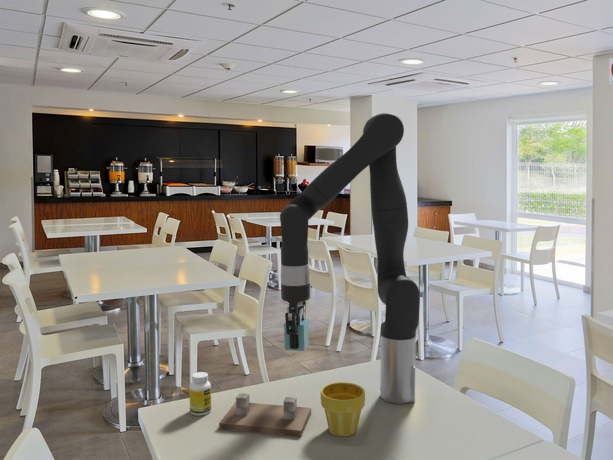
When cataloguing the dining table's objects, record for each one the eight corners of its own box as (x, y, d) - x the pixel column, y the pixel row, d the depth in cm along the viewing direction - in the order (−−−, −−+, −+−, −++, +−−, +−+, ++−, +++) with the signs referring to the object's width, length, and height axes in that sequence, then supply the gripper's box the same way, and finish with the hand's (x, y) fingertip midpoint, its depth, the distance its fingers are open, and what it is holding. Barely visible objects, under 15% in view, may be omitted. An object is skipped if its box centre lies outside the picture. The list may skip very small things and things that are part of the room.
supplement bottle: (206, 417, 135) (205, 379, 134) (186, 415, 136) (185, 378, 135) (214, 407, 140) (213, 371, 139) (195, 406, 141) (194, 370, 140)
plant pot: (341, 445, 120) (341, 403, 119) (312, 428, 128) (311, 389, 127) (373, 431, 127) (374, 391, 126) (343, 415, 135) (343, 378, 134)
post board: (311, 413, 136) (311, 390, 136) (301, 436, 125) (300, 411, 124) (235, 407, 140) (235, 385, 140) (219, 429, 129) (218, 404, 128)
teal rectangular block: (308, 344, 143) (308, 319, 143) (304, 350, 138) (303, 325, 138) (289, 343, 144) (288, 318, 144) (284, 349, 139) (284, 324, 139)
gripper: (303, 287, 132) (305, 355, 134) (314, 276, 146) (316, 337, 148) (274, 287, 133) (275, 353, 135) (287, 275, 147) (289, 335, 149)
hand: (296, 344), depth 141 cm, fingers closed on teal rectangular block, 5 cm apart
